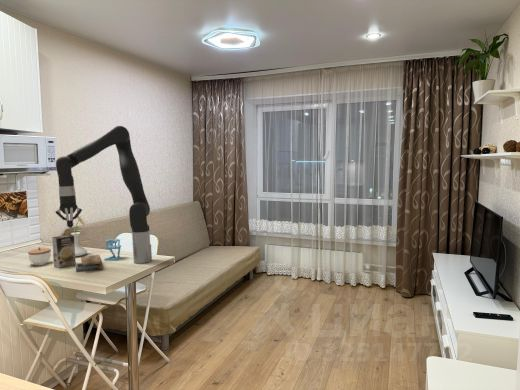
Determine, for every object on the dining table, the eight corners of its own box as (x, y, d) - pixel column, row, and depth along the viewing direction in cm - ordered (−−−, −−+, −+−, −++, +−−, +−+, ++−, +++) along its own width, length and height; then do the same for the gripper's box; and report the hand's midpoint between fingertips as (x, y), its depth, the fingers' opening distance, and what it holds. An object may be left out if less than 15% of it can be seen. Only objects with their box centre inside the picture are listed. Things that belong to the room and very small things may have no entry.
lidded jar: (56, 261, 206) (54, 245, 205) (40, 267, 196) (38, 250, 195) (41, 260, 209) (39, 244, 208) (24, 266, 199) (23, 249, 198)
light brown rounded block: (99, 262, 202) (99, 254, 202) (102, 269, 188) (101, 261, 188) (81, 265, 198) (81, 256, 197) (83, 272, 184) (82, 263, 183)
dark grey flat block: (96, 265, 197) (96, 261, 197) (97, 268, 190) (97, 264, 190) (75, 268, 193) (75, 264, 192) (76, 272, 186) (76, 267, 185)
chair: (123, 256, 214) (122, 236, 213) (117, 260, 206) (116, 239, 205) (110, 257, 215) (109, 236, 214) (104, 260, 206) (102, 239, 205)
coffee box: (58, 268, 193) (56, 238, 191) (53, 266, 197) (51, 237, 196) (76, 264, 200) (74, 235, 198) (71, 262, 204) (69, 234, 203)
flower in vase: (81, 257, 214) (78, 215, 211) (62, 258, 214) (59, 216, 212) (92, 252, 227) (89, 212, 224) (74, 252, 227) (71, 213, 225)
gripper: (80, 193, 197) (83, 225, 198) (52, 195, 190) (55, 228, 192) (82, 194, 190) (84, 226, 192) (53, 196, 184) (56, 230, 185)
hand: (70, 227), depth 192 cm, fingers closed
